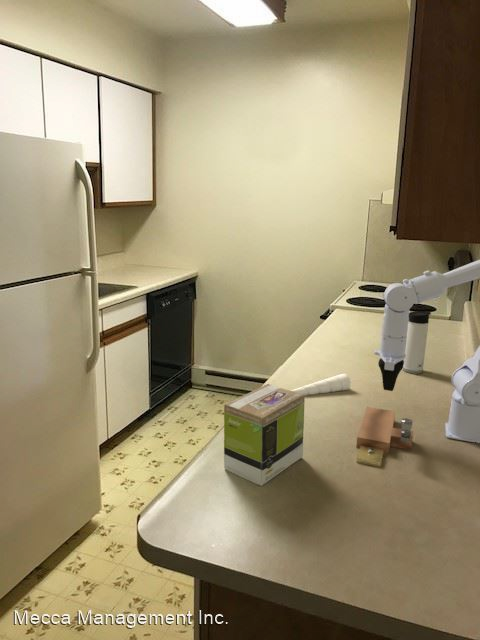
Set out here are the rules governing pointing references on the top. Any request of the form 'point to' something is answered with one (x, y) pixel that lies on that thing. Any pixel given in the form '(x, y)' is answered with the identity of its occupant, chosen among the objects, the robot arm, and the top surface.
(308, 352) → the top surface
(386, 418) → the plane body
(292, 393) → the tea box
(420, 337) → the travel mug
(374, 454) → the wooden block with bolt
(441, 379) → the top surface
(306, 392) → the unicorn horn
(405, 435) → the lever
